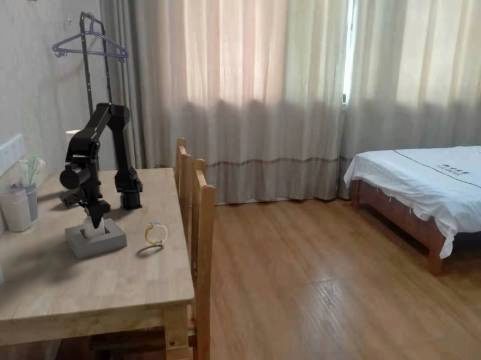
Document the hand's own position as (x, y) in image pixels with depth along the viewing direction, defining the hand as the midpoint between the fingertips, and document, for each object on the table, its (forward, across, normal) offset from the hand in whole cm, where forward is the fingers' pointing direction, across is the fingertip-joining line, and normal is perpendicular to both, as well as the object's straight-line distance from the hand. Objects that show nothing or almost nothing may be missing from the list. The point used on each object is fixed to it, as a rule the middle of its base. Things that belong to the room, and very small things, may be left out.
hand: (94, 226), depth 120 cm
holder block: (+6, 0, 0) cm, 6 cm away
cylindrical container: (+6, -55, +10) cm, 56 cm away
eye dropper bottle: (+5, 0, 0) cm, 5 cm away
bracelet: (+6, +12, +15) cm, 20 cm away
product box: (+6, -39, +4) cm, 40 cm away
